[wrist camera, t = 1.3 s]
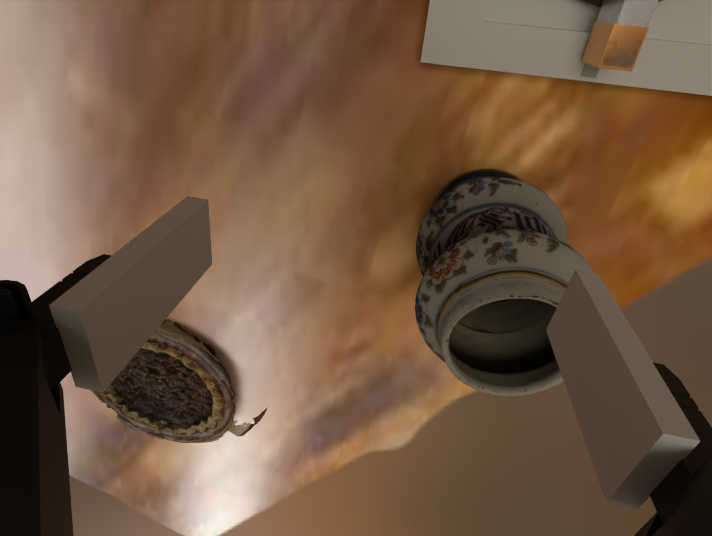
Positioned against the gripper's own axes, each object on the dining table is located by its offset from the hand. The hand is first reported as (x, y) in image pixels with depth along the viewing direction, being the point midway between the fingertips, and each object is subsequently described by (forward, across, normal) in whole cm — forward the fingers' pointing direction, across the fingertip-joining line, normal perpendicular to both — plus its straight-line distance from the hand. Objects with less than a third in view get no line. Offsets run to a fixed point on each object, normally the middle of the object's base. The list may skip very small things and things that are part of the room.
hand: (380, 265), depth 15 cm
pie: (+26, -25, -39) cm, 53 cm away
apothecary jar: (+25, +8, -8) cm, 28 cm away
